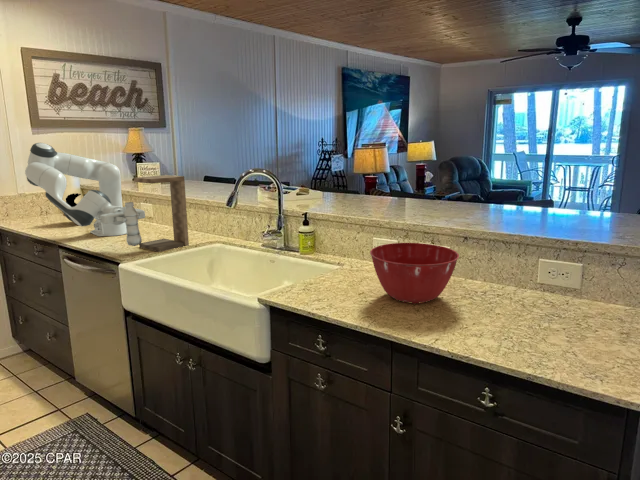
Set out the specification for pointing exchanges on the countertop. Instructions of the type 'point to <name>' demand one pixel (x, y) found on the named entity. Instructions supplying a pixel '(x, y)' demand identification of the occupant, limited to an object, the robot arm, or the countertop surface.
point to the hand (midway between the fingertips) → (132, 218)
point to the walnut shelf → (177, 213)
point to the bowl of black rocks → (71, 202)
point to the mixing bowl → (413, 270)
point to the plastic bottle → (132, 225)
